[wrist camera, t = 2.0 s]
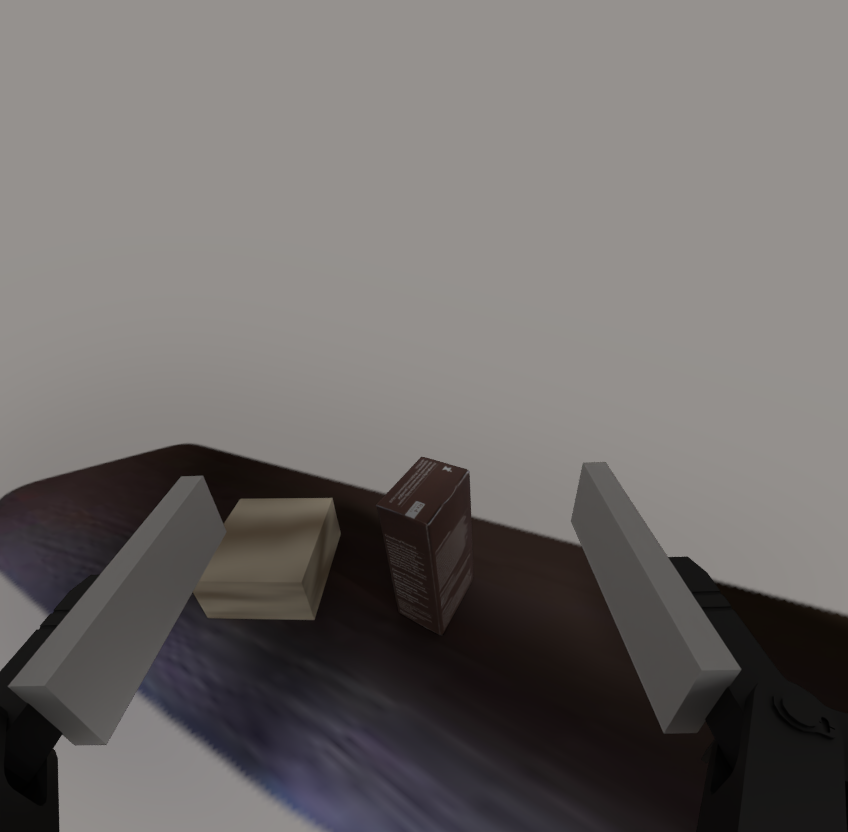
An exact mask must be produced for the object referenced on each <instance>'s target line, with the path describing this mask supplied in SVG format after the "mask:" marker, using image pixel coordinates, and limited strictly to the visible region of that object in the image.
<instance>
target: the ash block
mask: <svg viewBox="0 0 848 832" xmlns="http://www.w3.org/2000/svg"><path fill="white" fill-rule="evenodd" d="M224 527H225V529H226V534H225V536H224V537H223V539H222V541H221V543H220V545H219V546H218V548H217V550H216V552H215V553H214V555H213V557H212V559H211V560H210V562H209V564H208V566H207V568H206V569H205V571H204V573H203V575H202V576H201V578H200V580H199V582H198V583H197V585H196V587H195V589H194V591H193V593H194V595H195V597H196V599H197V600H198V602H199V604H200V606H201V607H202V609H203V611H204V612H205V614H206V616H207V618H227V619H283V620H315V617H316V614H317V610H318V607H319V604H320V600H321V597H322V594H323V591H324V587H325V584H326V581H327V578H328V574H329V571H330V568H331V564H332V561H333V558H334V555H335V551H336V548H337V545H338V541H339V538H340V535H341V532H340V528H339V524H338V520H337V516H336V511H335V507H334V503H333V499H332V498H275V499H240V500H239V501H238V503H237V504H236V506H235V508H234V509H233V511H232V512H231V514H230V515H229V517H228V518H227V520H226V521H225V523H224Z"/></svg>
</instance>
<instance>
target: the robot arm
mask: <svg viewBox="0 0 848 832" xmlns="http://www.w3.org/2000/svg"><path fill="white" fill-rule="evenodd" d="M571 522H572V525H573V527H574V529H575V531H576V534H577V536H578V538H579V541H580V543H581V545H582V548H583V550H584V552H585V555H586V557H587V559H588V561H589V564H590V566H591V568H592V571H593V573H594V575H595V577H596V580H597V582H598V584H599V587H600V589H601V591H602V593H603V596H604V598H605V600H606V603H607V605H608V607H609V609H610V612H611V614H612V616H613V619H614V621H615V623H616V625H617V628H618V630H619V632H620V635H621V637H622V639H623V641H624V644H625V646H626V648H627V651H628V653H629V655H630V657H631V660H632V662H633V664H634V667H635V669H636V671H637V673H638V676H639V678H640V680H641V683H642V685H643V687H644V689H645V692H646V694H647V696H648V699H649V701H650V703H651V705H652V708H653V710H654V712H655V715H656V717H657V719H658V722H659V724H660V726H661V728H662V731H663V733H664V734H667V733H698V731H699V730H700V728H701V727H702V725H703V724H704V723H705V721H706V722H707V724H708V726H709V728H710V730H711V732H712V734H713V735H714V737H715V739H714V741H713V742H712V743H711V745H710V746H709V747H708V749H707V750H706V751H705V753H704V755H703V757H702V759H701V760H702V761H704V762H705V763H708V761H709V765H708V771H707V776H706V782H705V787H704V793H703V798H702V804H701V809H700V815H699V820H698V826H697V831H696V832H848V714H847V713H843V712H840V711H837V710H834V709H831V708H829V707H826V706H824V705H823V704H822V703H821V702H820V701H819V700H818V699H817V698H816V697H815V696H814V695H812V694H811V693H809V692H808V691H806V690H805V689H803V688H802V687H800V686H799V685H797V684H795V683H792V682H790V681H787V680H786V679H785V678H784V676H783V675H782V674H781V673H780V672H779V671H778V669H777V668H776V667H775V665H774V664H773V663H772V661H771V660H770V658H769V657H768V656H767V654H766V653H765V652H764V650H763V649H762V647H761V646H760V645H759V643H758V642H757V641H756V639H755V638H754V637H753V635H752V634H751V632H750V631H749V630H748V628H747V627H746V626H745V624H744V623H743V621H742V620H741V619H740V617H739V616H738V615H737V613H736V612H735V610H732V608H731V605H730V604H729V602H728V601H727V599H726V598H725V597H724V595H721V593H720V590H719V589H718V587H717V586H716V584H715V583H714V582H713V580H712V579H711V578H710V576H709V575H708V573H707V572H706V571H704V570H703V569H702V568H701V567H700V566H698V565H697V564H696V563H695V562H693V561H692V560H691V559H690V558H689V557H667V555H666V553H665V552H664V550H663V549H662V548H661V546H660V544H659V543H658V541H657V540H656V538H655V537H654V535H653V534H652V532H651V531H650V529H649V528H648V526H647V524H646V523H645V521H644V520H643V518H642V517H641V515H640V514H639V513H638V511H637V509H636V508H635V506H634V505H633V503H632V502H631V500H630V499H629V497H628V496H627V494H626V493H625V491H624V489H623V488H622V487H621V485H620V483H619V482H618V480H617V479H616V477H615V476H614V474H613V473H612V471H611V470H610V468H609V466H608V465H607V463H606V462H592V463H583V465H582V470H581V475H580V480H579V485H578V490H577V494H576V499H575V505H574V509H573V514H572V519H571ZM225 534H226V529H225V527H224V524H223V522H222V520H221V517H220V515H219V512H218V510H217V508H216V505H215V503H214V501H213V498H212V496H211V493H210V491H209V489H208V486H207V484H206V482H205V479H204V477H203V476H181V477H180V479H179V480H178V481H177V482H176V483H175V485H174V486H173V487H172V488H171V490H170V491H169V492H168V493H167V494H166V496H165V497H164V498H163V499H162V500H161V502H160V503H159V504H158V505H157V506H156V508H155V509H154V510H153V511H152V513H151V514H150V515H149V516H148V517H147V519H146V520H145V521H144V522H143V523H142V525H141V526H140V527H139V528H138V529H137V531H136V532H135V533H134V534H133V535H132V537H131V538H130V539H129V540H128V542H127V543H126V544H125V545H124V546H123V548H122V549H121V550H120V551H119V552H118V554H117V555H116V556H115V557H114V558H113V560H112V561H111V562H110V563H109V565H108V566H107V567H106V568H105V569H104V571H103V572H102V573H101V574H100V575H90V576H89V577H88V578H86V579H85V580H84V581H83V582H81V583H80V584H79V585H77V586H76V587H75V588H73V589H72V590H71V591H70V592H69V593H68V594H67V595H66V596H65V597H64V599H63V600H62V601H61V602H60V603H59V604H58V606H57V607H56V608H55V609H54V612H53V614H50V615H49V616H48V617H47V618H46V619H45V621H44V622H43V623H42V624H41V625H40V629H39V630H36V631H35V632H34V633H33V634H32V636H31V637H30V638H29V639H28V640H27V642H25V644H24V645H23V646H22V647H21V648H20V649H19V651H18V652H17V653H16V654H15V655H14V656H13V658H12V659H11V660H10V661H9V662H8V663H7V664H6V666H5V667H4V668H3V669H2V670H1V671H0V832H59V799H58V758H57V755H56V752H55V750H54V749H53V748H54V746H55V744H56V743H57V741H58V740H59V738H60V737H61V735H64V736H65V737H66V738H67V739H68V740H69V741H70V742H72V743H73V744H74V745H106V744H107V743H108V741H109V739H110V737H111V736H112V734H113V732H114V730H115V728H116V727H117V725H118V723H119V721H120V720H121V717H122V716H123V714H124V712H125V711H126V709H127V707H128V706H129V704H130V702H131V700H132V698H133V697H134V695H135V693H136V691H137V690H138V688H139V686H140V684H141V683H142V681H143V679H144V677H145V675H146V674H147V672H148V670H149V668H150V667H151V665H152V663H153V661H154V660H155V658H156V656H157V654H158V652H159V651H160V649H161V647H162V645H163V644H164V642H165V640H166V638H167V637H168V635H169V633H170V631H171V629H172V628H173V626H174V624H175V622H176V621H177V619H178V617H179V615H180V614H181V612H182V610H183V608H184V606H185V605H186V603H187V601H188V599H189V598H190V596H191V594H192V592H193V591H194V589H195V587H196V585H197V583H198V582H199V580H200V578H201V576H202V575H203V573H204V571H205V569H206V568H207V566H208V564H209V562H210V560H211V559H212V557H213V555H214V553H215V552H216V550H217V548H218V546H219V545H220V543H221V541H222V539H223V537H224V536H225Z"/></svg>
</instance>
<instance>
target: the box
mask: <svg viewBox="0 0 848 832" xmlns="http://www.w3.org/2000/svg"><path fill="white" fill-rule="evenodd" d="M376 506H377V510H378V514H379V519H380V524H381V529H382V534H383V538H384V543H385V548H386V553H387V558H388V563H389V568H390V573H391V578H392V583H393V588H394V593H395V598H396V602H397V608H398V612H399V613H401V614H402V615H404V616H406V617H407V618H409V619H411V620H413V621H415V622H416V623H418V624H420V625H422V626H424V627H425V628H427V629H429V630H431V631H433V632H435V633H437V634H439V635H443V633H444V631H445V629H446V628H447V626H448V624H449V622H450V621H451V619H452V617H453V615H454V613H455V612H456V610H457V608H458V606H459V605H460V603H461V601H462V599H463V597H464V595H465V594H466V592H467V590H468V588H469V586H470V584H471V582H472V581H473V579H474V577H473V552H472V526H471V501H470V476H469V470H467V469H464V468H460V467H456V466H453V465H449V464H446V463H443V462H440V461H436V460H432V459H429V458H425V457H421V458H420V459H419V460H418V461H417V462H416V463H415V464H414V465H413V466H412V467H411V468H410V470H409V471H408V472H407V473H406V474H405V475H404V476H403V477H402V478H401V479H400V480H399V481H398V482H397V483H396V484H395V486H394V487H393V488H392V489H391V490H390V491H389V492H388V493H387V494H386V495H385V496H384V497H383V498H382V499H381V500H380V501H379V502H378V503H377V505H376Z"/></svg>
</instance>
